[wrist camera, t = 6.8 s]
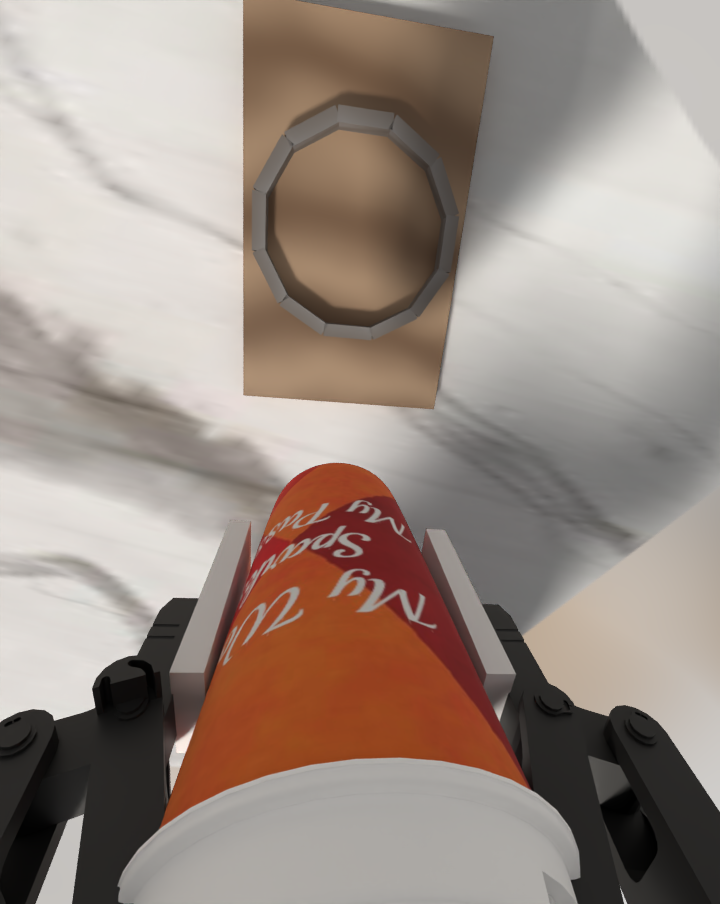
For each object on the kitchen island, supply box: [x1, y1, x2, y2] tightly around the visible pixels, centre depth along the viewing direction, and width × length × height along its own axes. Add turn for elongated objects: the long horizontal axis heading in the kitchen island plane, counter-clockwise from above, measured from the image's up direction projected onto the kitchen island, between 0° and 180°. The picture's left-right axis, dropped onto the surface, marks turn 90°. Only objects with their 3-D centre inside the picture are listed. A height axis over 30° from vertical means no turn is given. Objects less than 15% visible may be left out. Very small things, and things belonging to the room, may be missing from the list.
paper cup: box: [118, 463, 580, 904], centre depth 12 cm, size 8×8×14 cm
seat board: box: [243, 0, 494, 409], centre depth 27 cm, size 22×14×3 cm, turn 175°
